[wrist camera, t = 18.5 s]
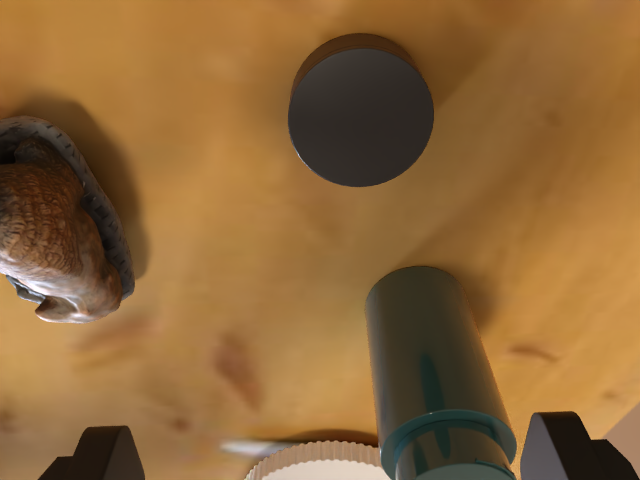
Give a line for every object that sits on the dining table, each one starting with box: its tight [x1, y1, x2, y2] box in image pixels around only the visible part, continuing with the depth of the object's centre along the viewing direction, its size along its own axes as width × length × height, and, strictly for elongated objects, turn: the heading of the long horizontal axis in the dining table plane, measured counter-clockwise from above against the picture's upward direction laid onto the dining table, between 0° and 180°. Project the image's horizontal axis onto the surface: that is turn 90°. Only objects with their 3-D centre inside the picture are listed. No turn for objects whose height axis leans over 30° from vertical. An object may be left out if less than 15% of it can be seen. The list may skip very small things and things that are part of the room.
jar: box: [365, 266, 517, 480], centre depth 29 cm, size 6×6×13 cm
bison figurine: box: [0, 115, 135, 324], centre depth 26 cm, size 12×7×10 cm, turn 13°
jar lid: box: [288, 34, 434, 187], centre depth 26 cm, size 6×6×3 cm
